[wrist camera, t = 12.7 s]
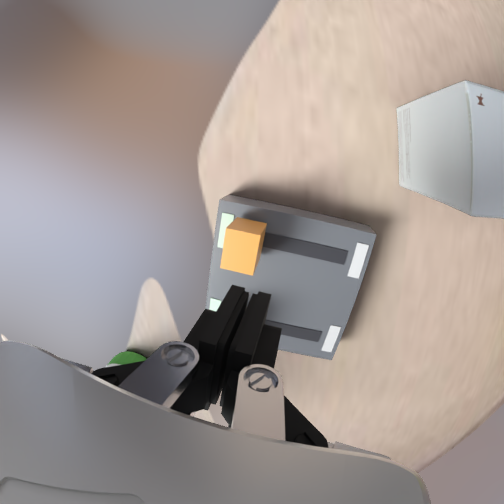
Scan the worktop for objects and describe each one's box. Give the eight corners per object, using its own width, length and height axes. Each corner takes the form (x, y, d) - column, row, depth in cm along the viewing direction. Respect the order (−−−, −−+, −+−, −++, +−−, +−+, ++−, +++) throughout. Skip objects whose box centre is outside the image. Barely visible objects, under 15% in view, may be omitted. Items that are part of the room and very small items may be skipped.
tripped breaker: (237, 217, 23) (225, 228, 20) (266, 223, 23) (260, 235, 20) (231, 252, 24) (220, 268, 21) (260, 258, 24) (252, 275, 21)
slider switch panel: (228, 194, 26) (219, 199, 23) (369, 225, 25) (376, 235, 22) (211, 315, 31) (202, 331, 28) (330, 342, 29) (331, 360, 27)
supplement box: (397, 187, 23) (467, 218, 12) (394, 106, 21) (463, 74, 9) (463, 192, 22) (548, 225, 10) (462, 116, 20) (549, 106, 8)
